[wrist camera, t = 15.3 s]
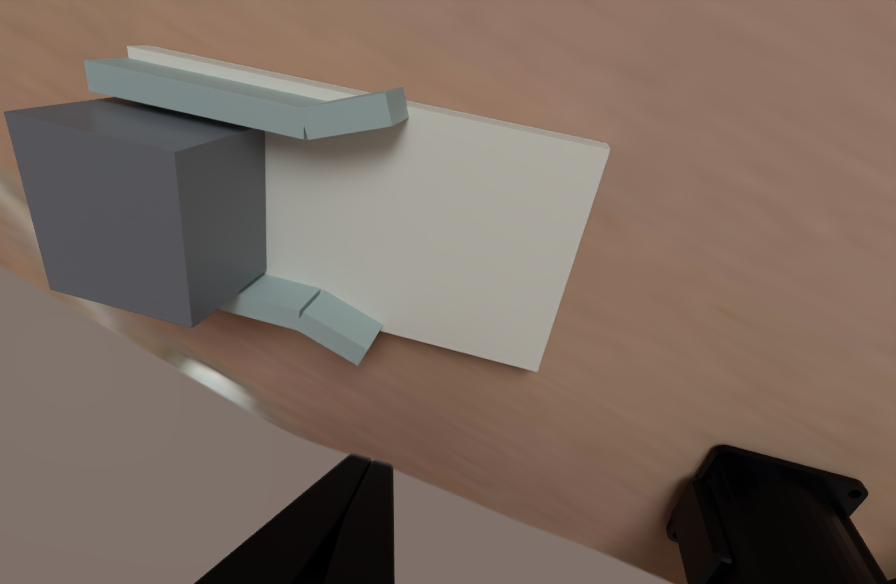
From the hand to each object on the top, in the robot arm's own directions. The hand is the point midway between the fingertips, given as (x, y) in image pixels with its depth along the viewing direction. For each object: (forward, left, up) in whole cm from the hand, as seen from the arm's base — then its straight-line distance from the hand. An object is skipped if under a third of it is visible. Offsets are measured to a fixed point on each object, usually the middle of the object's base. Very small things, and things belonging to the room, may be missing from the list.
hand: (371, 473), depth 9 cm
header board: (+5, 0, -12) cm, 13 cm away
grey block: (+11, 0, -11) cm, 16 cm away
